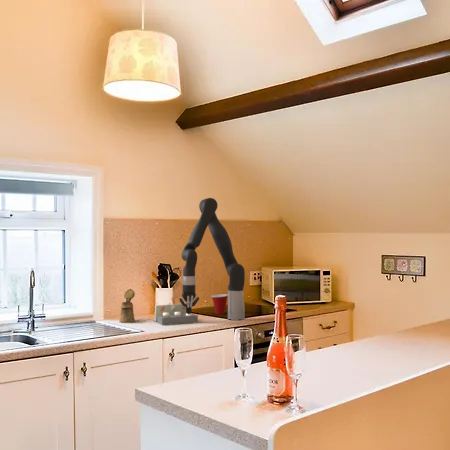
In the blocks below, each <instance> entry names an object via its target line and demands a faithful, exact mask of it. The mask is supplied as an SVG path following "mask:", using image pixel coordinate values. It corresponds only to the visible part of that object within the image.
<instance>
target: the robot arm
mask: <svg viewBox="0 0 450 450" xmlns="http://www.w3.org/2000/svg"><path fill="white" fill-rule="evenodd" d="M198 208H199V212H200V213H201V215H200V216H199V219H198V221H197V222H196V224H195V225H194V227H193V229H192V231H191V234H190V236H189V239H188V241H187V242H186V243H185V244H186V245H184V247H183V249H182V251H181V254H180V255H181V259H182V260H183V261H185V265H184V266H183V268H182V286H181V287H182V293H181V296H180V297H178V298H177V299H178V301H179V303H180V304H182V305H183V306H185V307H186V313H187V314H191V313H192V307H195V306H196V304H197V303H198V301H199V300H200V297H198V296H197V294H196V285H197V282H196V266H197V263H198V254H197V252H196V249H197V248H199V247H200V245H201V243H202V240H203V238H204V235H205V232H206V230H207V228H208V229H209V231H210V234H211V236H212V239H213V241H214V244H215V246H216V248H217V250H218V253H219V254H220V256H221V258H222V261H223V265H224V267H225V270H226V274H227V276H229V283H228V285H227V294H228V297H227V320H229V319H231V320H230V321H239V320H238V319H242V320H245V317H246V315H245V312H246V311H245V310H246V309H245V308H246V307H245V305H246V304H245V302H244V287H245V280H246V279H245V276H246V273H245V268H244V266H243V265H242V264H241V263H239V262H238V261H237V258H236V257H235V255H234V250H233V245H232V241H231V237H230V236H229V233H228V231H227V229H226V228H225V227H224V225H223V224H222V223H221V221H220V220H219V219H218V217H217V214H216V211H217V210H218V202H217V200H216V199H215V198H213V197H207V198H204V199H202V200H200V202H199V205H198Z"/></svg>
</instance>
